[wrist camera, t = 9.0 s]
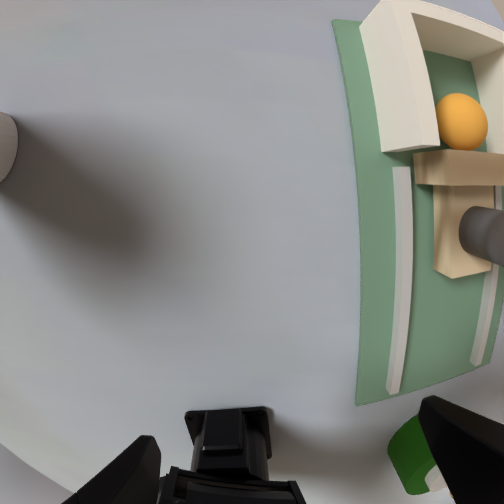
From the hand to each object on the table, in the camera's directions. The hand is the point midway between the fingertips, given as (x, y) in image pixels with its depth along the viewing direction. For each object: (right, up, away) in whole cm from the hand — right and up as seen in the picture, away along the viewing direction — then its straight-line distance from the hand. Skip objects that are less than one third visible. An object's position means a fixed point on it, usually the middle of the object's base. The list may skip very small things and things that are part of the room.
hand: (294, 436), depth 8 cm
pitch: (+13, +9, +11) cm, 19 cm away
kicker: (+13, +9, +10) cm, 19 cm away
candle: (+16, -13, +16) cm, 26 cm away
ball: (+12, +14, +7) cm, 20 cm away
